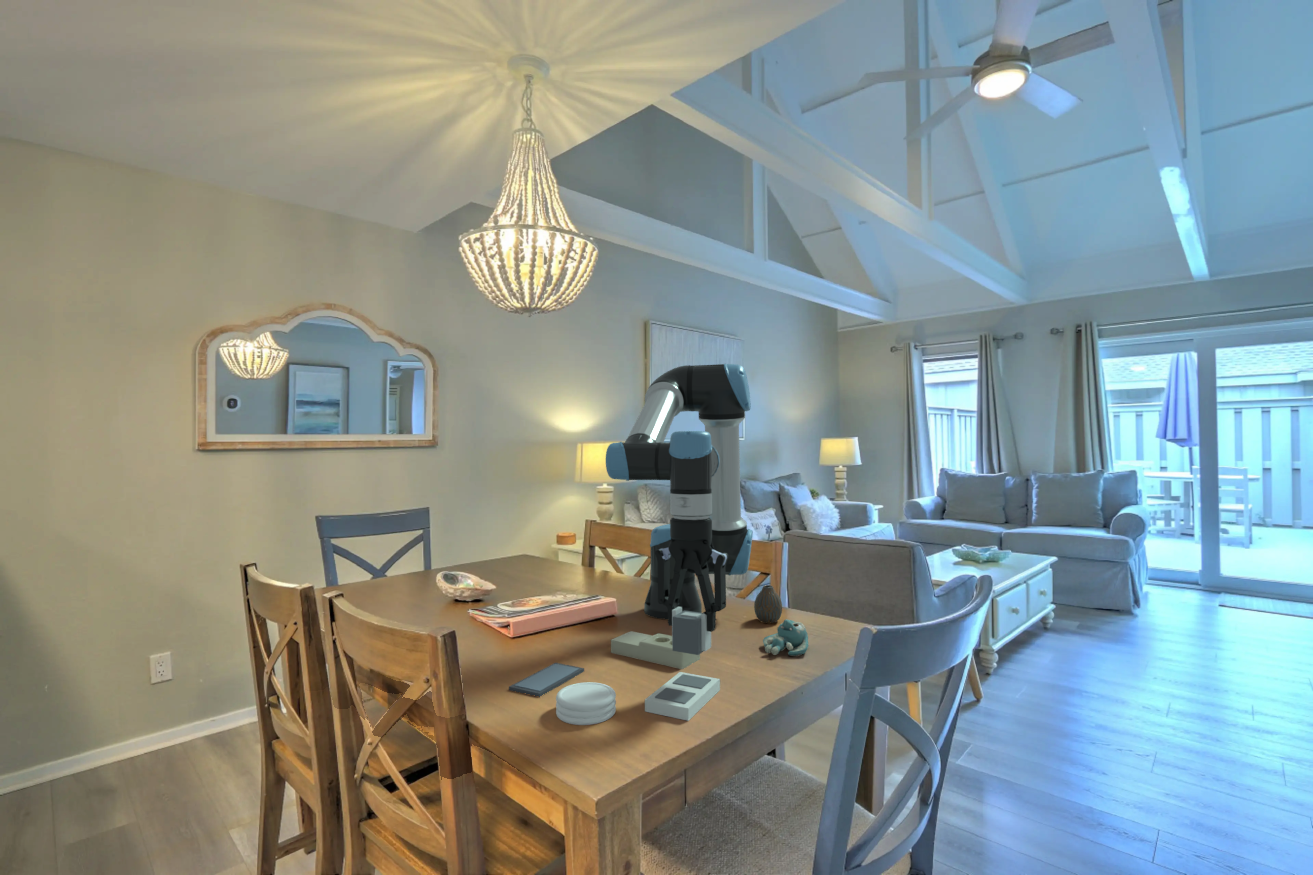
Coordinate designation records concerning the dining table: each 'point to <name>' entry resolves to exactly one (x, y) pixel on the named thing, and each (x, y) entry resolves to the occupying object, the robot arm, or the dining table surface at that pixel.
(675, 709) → the plate
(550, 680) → the phone
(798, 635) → the stuffed animal
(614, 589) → the dining table surface
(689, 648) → the block
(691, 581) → the robot arm
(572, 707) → the coaster
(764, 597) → the vase
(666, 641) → the electrical outlet
